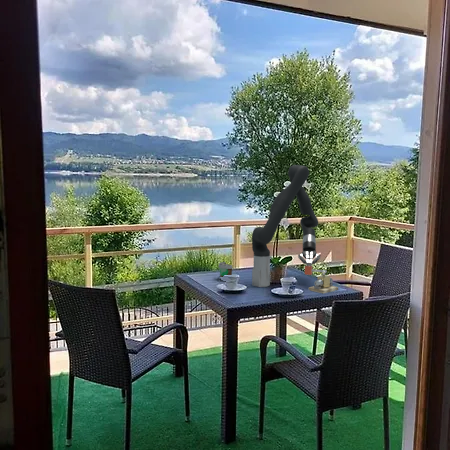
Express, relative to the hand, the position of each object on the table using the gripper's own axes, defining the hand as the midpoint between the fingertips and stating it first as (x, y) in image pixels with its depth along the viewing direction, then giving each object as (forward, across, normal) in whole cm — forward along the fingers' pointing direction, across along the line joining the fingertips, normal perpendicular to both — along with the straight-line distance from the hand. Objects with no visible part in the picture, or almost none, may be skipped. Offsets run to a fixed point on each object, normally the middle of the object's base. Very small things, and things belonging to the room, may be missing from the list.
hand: (309, 269), depth 265 cm
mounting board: (+10, +8, +4) cm, 14 cm away
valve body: (+9, +8, +3) cm, 13 cm away
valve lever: (+4, +4, 0) cm, 5 cm away
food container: (0, -50, +15) cm, 52 cm away
